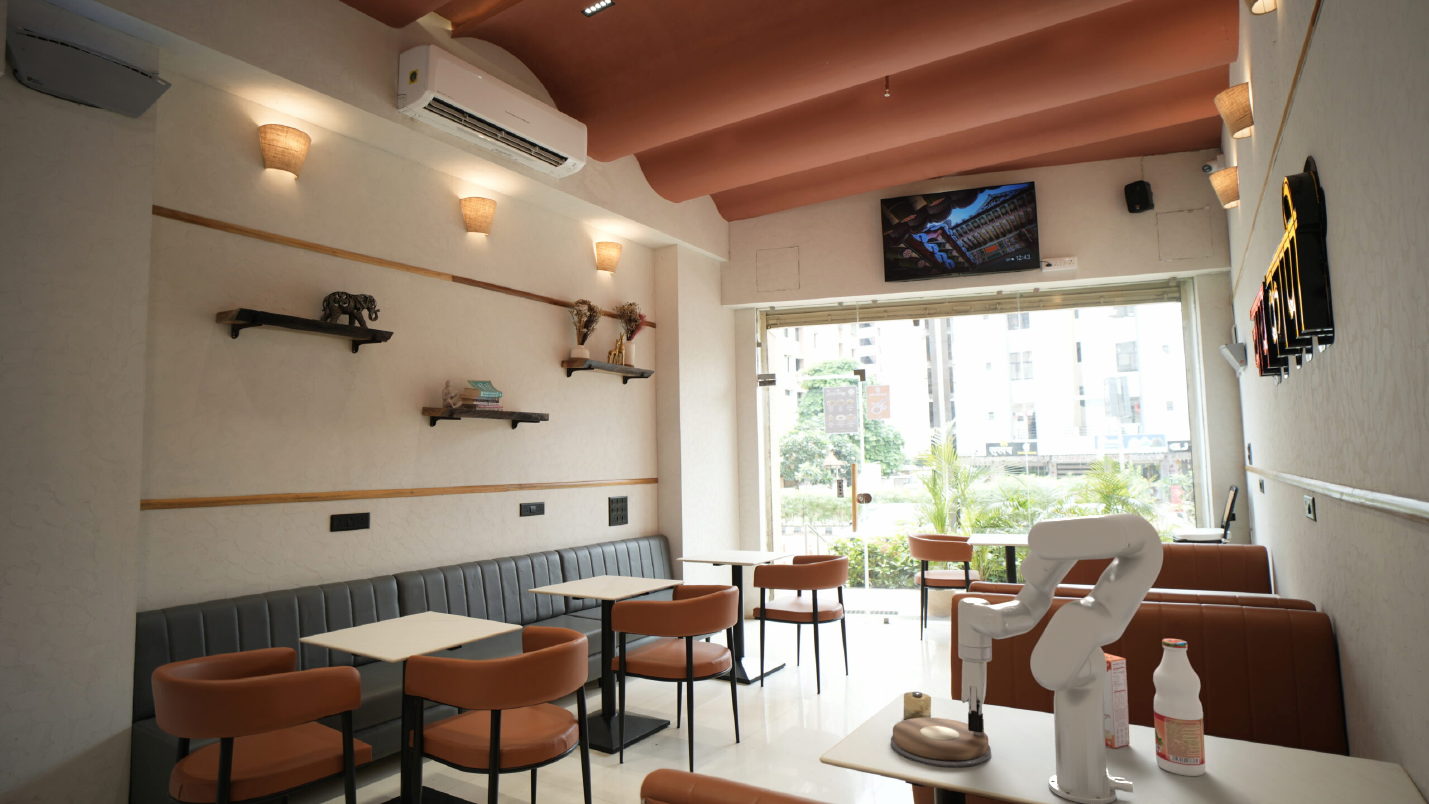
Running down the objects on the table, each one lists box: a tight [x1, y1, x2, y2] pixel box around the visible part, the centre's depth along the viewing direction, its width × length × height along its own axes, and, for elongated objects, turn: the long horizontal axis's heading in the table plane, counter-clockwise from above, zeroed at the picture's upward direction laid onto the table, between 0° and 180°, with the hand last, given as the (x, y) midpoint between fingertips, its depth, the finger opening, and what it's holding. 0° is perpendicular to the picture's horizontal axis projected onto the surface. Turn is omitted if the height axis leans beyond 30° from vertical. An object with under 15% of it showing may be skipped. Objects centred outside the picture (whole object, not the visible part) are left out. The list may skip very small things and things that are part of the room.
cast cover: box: [903, 691, 932, 720], centre depth 199 cm, size 7×7×7 cm
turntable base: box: [890, 734, 992, 769], centre depth 179 cm, size 23×23×1 cm
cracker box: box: [1104, 652, 1130, 749], centre depth 186 cm, size 14×6×21 cm, turn 25°
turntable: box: [892, 717, 990, 760], centre depth 179 cm, size 22×22×6 cm
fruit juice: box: [1152, 638, 1206, 777], centre depth 168 cm, size 9×9×28 cm
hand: (975, 730), depth 176 cm, fingers closed
